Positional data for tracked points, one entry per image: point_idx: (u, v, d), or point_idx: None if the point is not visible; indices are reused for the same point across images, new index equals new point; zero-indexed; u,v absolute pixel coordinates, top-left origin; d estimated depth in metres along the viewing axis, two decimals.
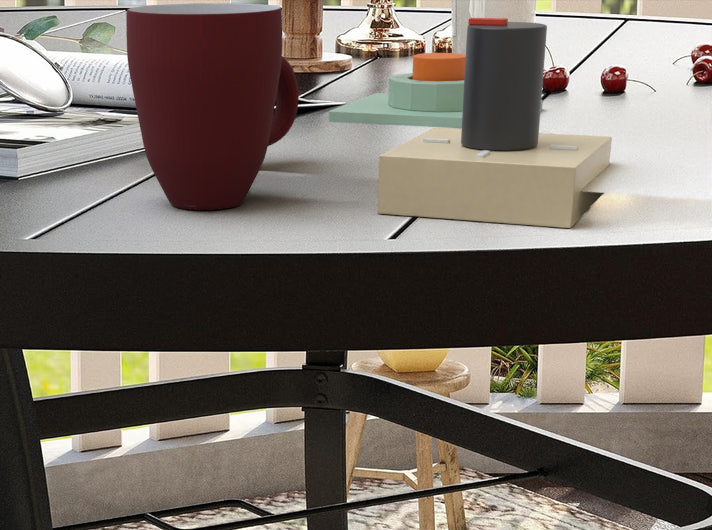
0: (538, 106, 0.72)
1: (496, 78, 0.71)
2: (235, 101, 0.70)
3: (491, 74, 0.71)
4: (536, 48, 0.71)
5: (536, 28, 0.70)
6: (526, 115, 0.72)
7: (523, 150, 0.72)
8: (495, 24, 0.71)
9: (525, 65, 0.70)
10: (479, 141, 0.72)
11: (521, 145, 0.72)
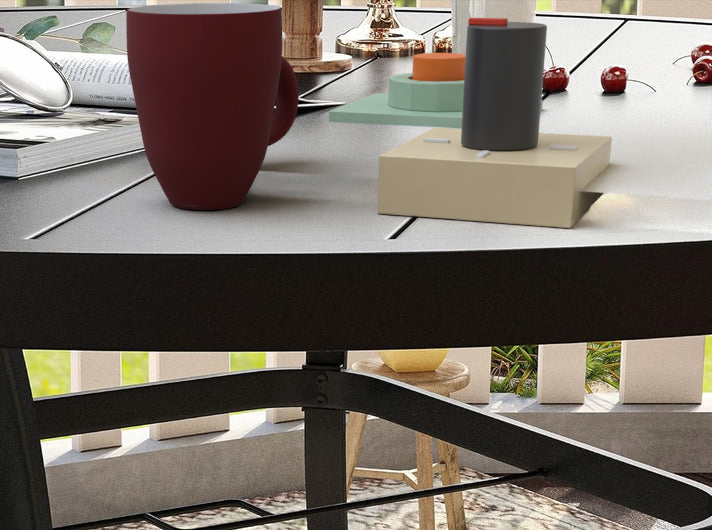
0: (538, 106, 0.72)
1: (496, 78, 0.71)
2: (235, 101, 0.70)
3: (491, 74, 0.71)
4: (536, 48, 0.71)
5: (536, 28, 0.70)
6: (526, 115, 0.72)
7: (523, 150, 0.72)
8: (495, 24, 0.71)
9: (525, 65, 0.70)
10: (479, 141, 0.72)
11: (521, 145, 0.72)
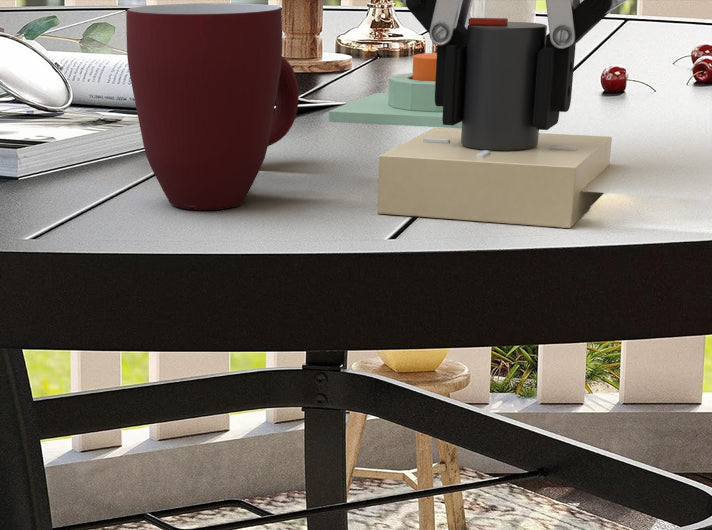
0: None
1: (496, 78, 0.71)
2: (235, 101, 0.70)
3: (491, 74, 0.71)
4: (536, 48, 0.71)
5: (536, 28, 0.70)
6: (526, 115, 0.72)
7: (523, 150, 0.72)
8: (495, 24, 0.71)
9: (525, 65, 0.70)
10: (479, 141, 0.72)
11: (521, 145, 0.72)
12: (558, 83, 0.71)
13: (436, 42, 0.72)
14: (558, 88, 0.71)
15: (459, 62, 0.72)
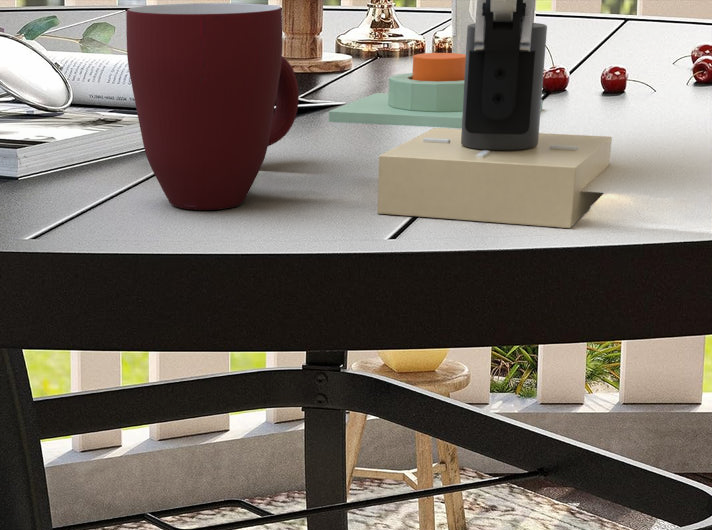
0: None
1: None
2: (235, 101, 0.70)
3: (543, 70, 0.72)
4: None
5: None
6: None
7: (523, 150, 0.72)
8: None
9: None
10: (536, 139, 0.73)
11: None
12: None
13: (529, 50, 0.69)
14: None
15: None
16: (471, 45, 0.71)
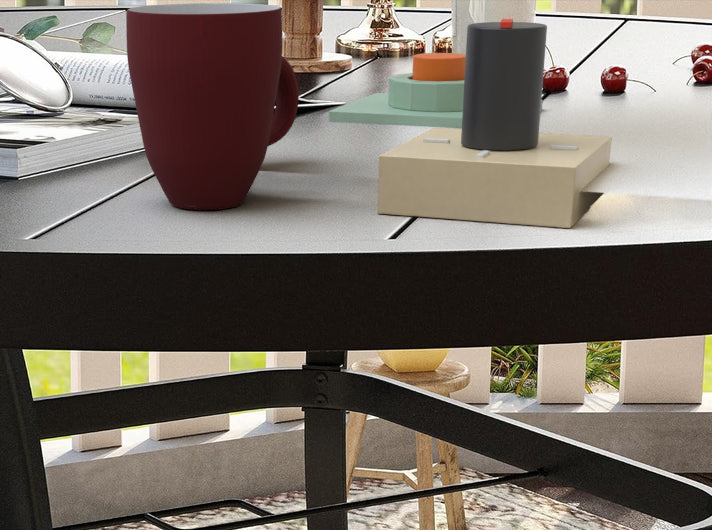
0: None
1: None
2: (235, 101, 0.70)
3: (543, 70, 0.72)
4: None
5: (527, 23, 0.73)
6: None
7: (523, 150, 0.72)
8: (513, 25, 0.71)
9: None
10: (536, 139, 0.73)
11: None
12: None
13: None
14: None
15: None
16: (471, 45, 0.71)
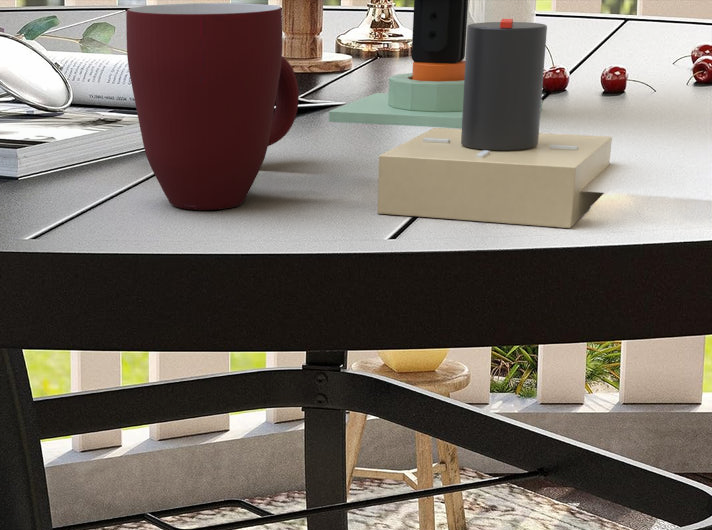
0: None
1: None
2: (235, 101, 0.70)
3: (543, 70, 0.72)
4: None
5: (527, 23, 0.73)
6: None
7: (523, 150, 0.72)
8: (513, 25, 0.71)
9: None
10: (536, 139, 0.73)
11: None
12: None
13: None
14: None
15: None
16: (471, 45, 0.71)
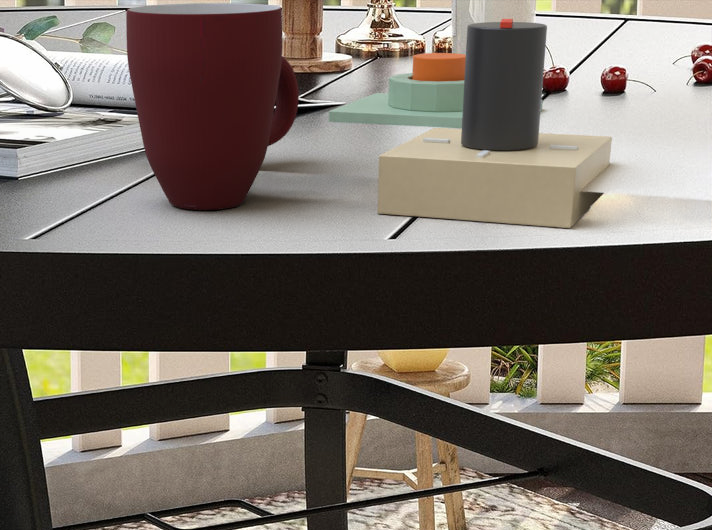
0: None
1: None
2: (235, 101, 0.70)
3: (543, 70, 0.72)
4: None
5: (527, 23, 0.73)
6: None
7: (523, 150, 0.72)
8: (513, 25, 0.71)
9: None
10: (536, 139, 0.73)
11: None
12: None
13: None
14: None
15: None
16: (471, 45, 0.71)
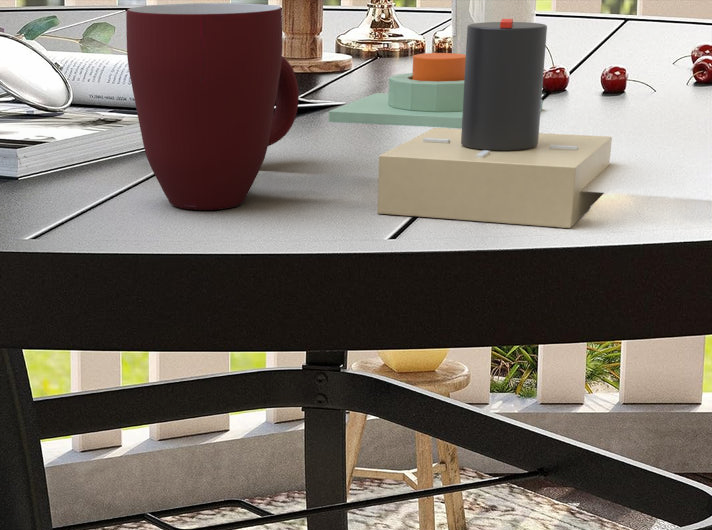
0: None
1: None
2: (235, 101, 0.70)
3: (543, 70, 0.72)
4: None
5: (527, 23, 0.73)
6: None
7: (523, 150, 0.72)
8: (513, 25, 0.71)
9: None
10: (536, 139, 0.73)
11: None
12: None
13: None
14: None
15: None
16: (471, 45, 0.71)
